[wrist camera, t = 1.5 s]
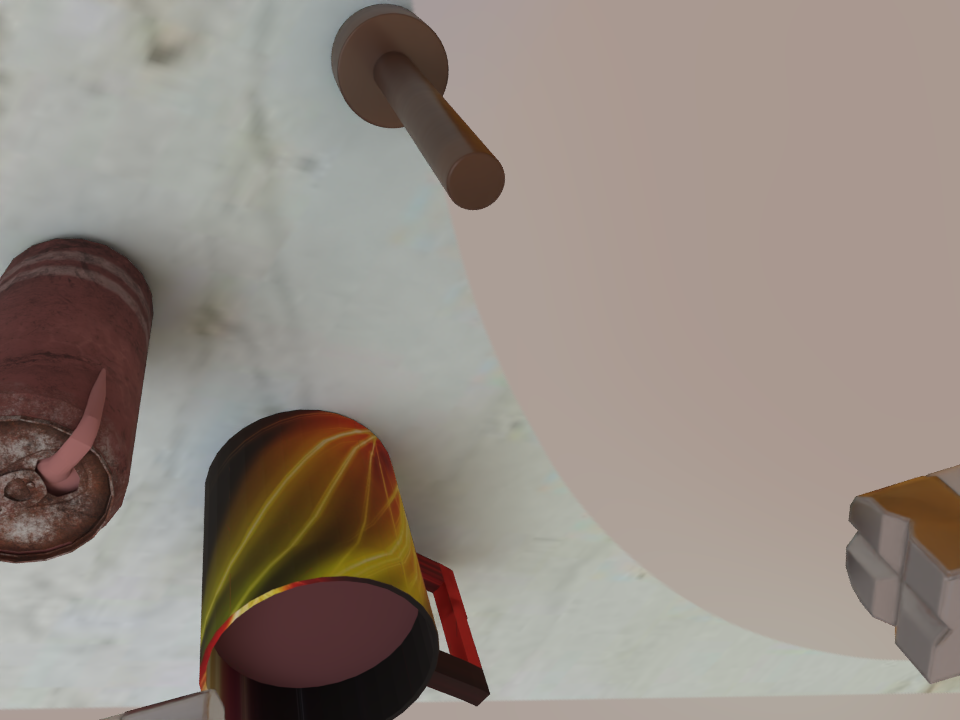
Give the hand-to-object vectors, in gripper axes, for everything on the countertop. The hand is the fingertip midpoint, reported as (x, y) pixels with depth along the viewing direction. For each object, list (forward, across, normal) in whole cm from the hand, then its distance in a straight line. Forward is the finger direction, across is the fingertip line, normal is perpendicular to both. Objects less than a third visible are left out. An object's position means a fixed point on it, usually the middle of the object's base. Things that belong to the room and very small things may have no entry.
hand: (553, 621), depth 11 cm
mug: (+31, +4, +21) cm, 37 cm away
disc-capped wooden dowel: (+31, -3, 0) cm, 31 cm away
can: (+31, +12, +7) cm, 34 cm away
